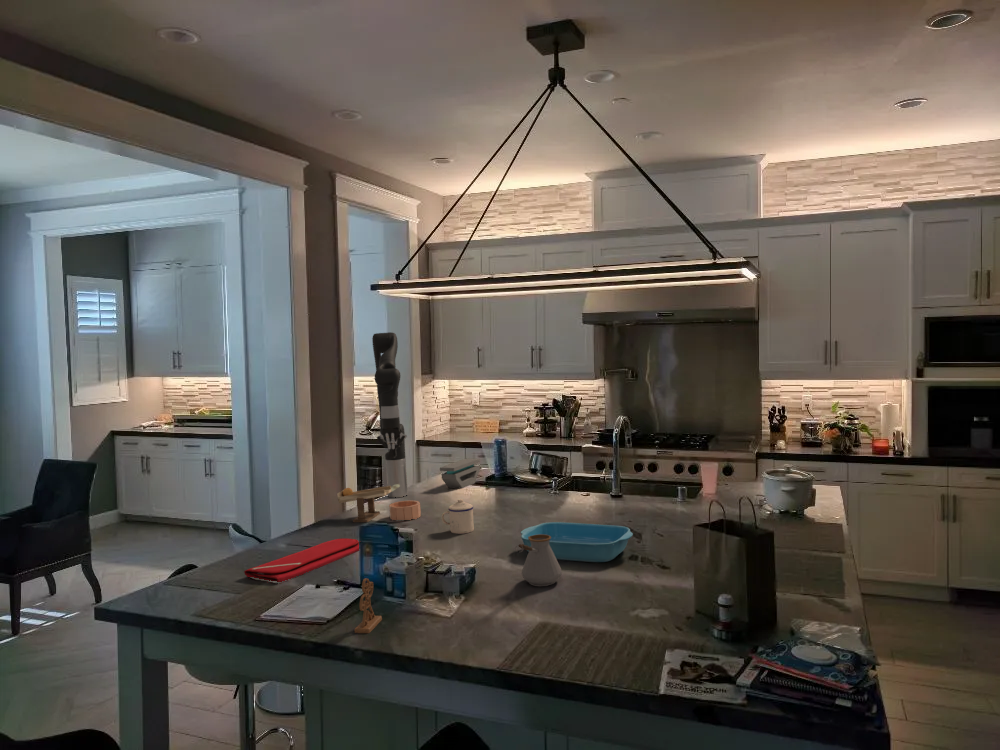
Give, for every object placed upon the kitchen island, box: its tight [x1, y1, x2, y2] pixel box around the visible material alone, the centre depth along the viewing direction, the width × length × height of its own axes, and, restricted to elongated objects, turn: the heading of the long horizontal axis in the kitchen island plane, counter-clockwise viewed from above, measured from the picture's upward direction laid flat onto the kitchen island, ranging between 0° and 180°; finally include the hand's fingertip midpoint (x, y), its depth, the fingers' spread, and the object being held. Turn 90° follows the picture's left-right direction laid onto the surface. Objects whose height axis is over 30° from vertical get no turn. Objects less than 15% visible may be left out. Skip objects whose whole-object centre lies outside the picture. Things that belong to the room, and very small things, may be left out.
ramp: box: [336, 484, 400, 504], centre depth 307 cm, size 18×20×4 cm
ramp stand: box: [352, 497, 381, 523], centre depth 302 cm, size 14×6×10 cm, turn 169°
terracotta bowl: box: [388, 500, 422, 521], centre depth 299 cm, size 12×12×6 cm
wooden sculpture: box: [354, 577, 383, 634], centre depth 186 cm, size 9×4×12 cm, turn 168°
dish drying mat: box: [243, 538, 360, 582], centre depth 245 cm, size 16×41×4 cm, turn 150°
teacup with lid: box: [440, 498, 475, 535], centre depth 273 cm, size 12×9×12 cm
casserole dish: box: [520, 521, 634, 563], centre depth 237 cm, size 37×22×7 cm, turn 62°
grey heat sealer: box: [439, 457, 481, 489], centre depth 358 cm, size 25×8×11 cm, turn 153°
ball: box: [342, 487, 354, 496], centre depth 303 cm, size 4×4×4 cm
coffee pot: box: [514, 534, 563, 587], centre depth 206 cm, size 21×12×15 cm, turn 156°
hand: (393, 457), depth 310 cm, fingers closed
